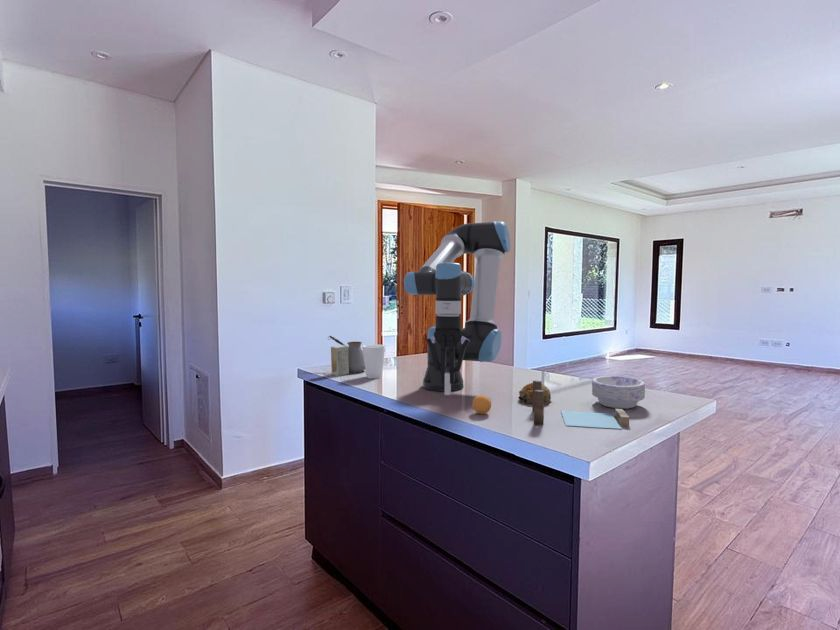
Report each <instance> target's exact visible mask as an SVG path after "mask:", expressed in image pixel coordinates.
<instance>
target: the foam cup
mask: <svg viewBox="0 0 840 630" xmlns="http://www.w3.org/2000/svg"><path fill="white" fill-rule="evenodd" d="M361 346H362V347H361V349H362V352H363V356H364V363H365V370H364V371H365V375H366V378H367V379H372V378H375V379H380V377H381V378H382V377H383V371H384V369H383V368H384V363H385V354H386V344H385V345H384V344H377V343H376V344H373V343H372V344H364V345H361Z"/></svg>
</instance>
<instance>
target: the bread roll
mask: <svg viewBox="0 0 840 630" xmlns="http://www.w3.org/2000/svg"><path fill="white" fill-rule="evenodd" d="M542 391H544V405H548V404H551V403H552V400H551V399H552V397H551V396H552V395H551V392H550V389H549V387H548V386H546V385H545V384H543V383H542ZM518 393H519V395H518V400H520V402H522V403H524V404H529V405H533V382H531V383H528V384H526V385H524V386H523V387H522V388H521V389H520V390H519V391H518Z"/></svg>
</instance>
